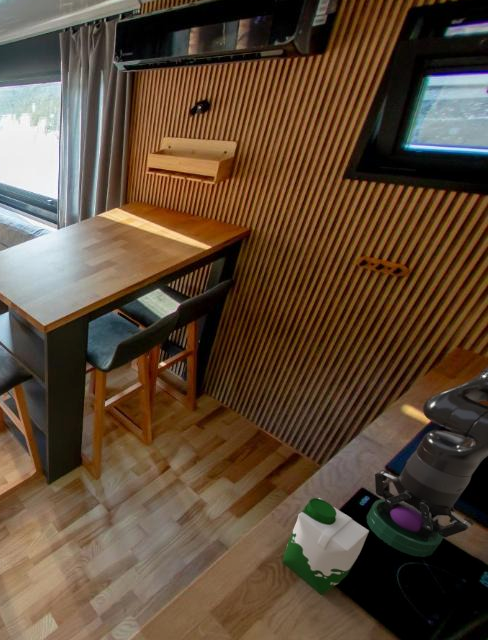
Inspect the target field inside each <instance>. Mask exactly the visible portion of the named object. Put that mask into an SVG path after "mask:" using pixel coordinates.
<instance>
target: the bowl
mask: <svg viewBox="0 0 488 640" xmlns="http://www.w3.org/2000/svg"><path fill="white" fill-rule="evenodd" d="M385 502H386V501H385V499H384V498H382V499H377V500H375V501H374V503H373V504H372V505H371V507H370V509H369V511H368V513H367V514H366V523H367V525H368V527H369V529H370V530H371V532H373V533H374V535H376V536H377V538H378V539H380V540H381V541H382V540H383V541H382V542H384V543H385V544H386V543H387V544H386V545H387V546H390V547H391V548H393V549H394V550H397V551H399V552H401V553H404V554H405V555H406V554H407V555H409V556H412V557H418V558H426V557H429V556H430V557H431V556H432V555H433V554H434V552H435V551H436V550H437V548H438V547H439V546H440V544H441V543H442V541H443V538H444V537H443V536H441V535H439V533H437V532H434V533H433V535H432V536H430V537H429V538H427V539H425V538H424V537H422V538H420V537H418V536H417V535H416V534H417V533H418V532H412V531H408V530H406V529H403V528H402V527H400V526H399V525H397V524H396V523H395V522H394V521H393V519H392V517H391V515H390V516H387V515H386V514H384V512H385V511H383V510H382V507H383V506H384V504H385ZM398 506H407V507H410V508H412V509H414V510H416V511H417V512H419V513H420V514H421V512H420V511H418V510H417V509H416V508H415V507H413V506H411V505H409V504H407V503H405V502H399V505H398Z"/></svg>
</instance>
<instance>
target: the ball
mask: <svg viewBox="0 0 488 640" xmlns="http://www.w3.org/2000/svg"><path fill="white" fill-rule="evenodd" d="M390 514H391V517H392V519H393V521H394V522H395V523H396V524H397V525H399V526H400V527H402V528H403V529H406V530H408V531H412V532H418V531H419V530H420V528H421V527H422V526H423V525H424V520H423V519H422V515H421V514H420V513H419V512H417V511H416V510H414V509H412V508H410V507H407V506H396V507H394V508H393V509H392V510H391V512H390Z"/></svg>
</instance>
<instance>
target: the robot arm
mask: <svg viewBox="0 0 488 640" xmlns="http://www.w3.org/2000/svg"><path fill="white" fill-rule="evenodd" d="M481 402H488V364H487V365H486V366H485V367H484V368H483V369H481V371H479V372H478V373H477V374H476V375H474V376H473V377H472V378H470V379H468V380H466V381H464V382H461V383H460V384H457V385H455V386H453V387H450V388H447V389H445V390H443V391H441V392H438V393H436V394H434V395H432V396H430V397H429V398H428V399H426V401H425V402H424V404H423V406H422V412H423V415H424V416H425V418H426V419H428V420H429V421H430V422H432V423H434V424H435V425H438V426H440V427H443V428H444V429H446V430H442V429H441V430H440V429H433V430H430V431H428V432H426V433H425V434H424V435H423V438H422V439H421V441H420V443H419V445H418V446H417V448H416V450H415V451H414V452H413V453H412V454H411V455H410V456H409V458H408V459H407V460H406V462H405V463H406V464H405V465H404V467H403V469H402V471H401V472H400V473H399V476H395V475H391V474H390V473H389V472H388V470H386V469H382V470H379V471H378V472H376V473H375V474H374V483H375V484H374V485H375V494H376V495H377V496H378V497H382V499H385V501H386V502H385V504H384V506H383V507H382V510H383V511H385V512H384V514H386V515H387V516H390V515H391V514H390V512H391V510H392V509H393V508H394V507H396V506H398V505H399V502H401V503H405V504H406V505H408V506H411V507H413V508H415V509H417V510H418V511H420V512H421V515H422V519H423V520H424V525H423V526H422V527H421V528H420V530H419V531H418V533H417V534H416V535H417V536H418V537H420V538H422V537H424V538H425V539H427V538H429V537H430V536H432V535H433V533H434V532H437V533H439V535H441V536H442V537H443V538H449V537H450V536H453V535H457V534H459V533H463V532H464V531H467V530H468V529H470V528H471V527H473V526H474V523H473V521H472V520H470V519H469V518H462V517H461V516H460V515H458V513H456V512H455V507H454V505H455V504H456V502H457V501H458V499H459V498H460V497H461V495H462V493H464V491H465V490H466V488H467V486H468V485H469V484H470V482H471V479H472V476H473V474H474V473H475V471H476V470H477V468H478V467H479V465H480V464H481V463H482V461H483V460H484V459H486V458H487V457H488V405H486V404H484V403H481ZM447 430H449V431H447ZM390 483H392V484H393V486H394V488H395V490H396V491H397V493H394V494H392V493H391V492H390V491H391V489H390V487H391V486H390ZM441 516H443V517H444V516H445V517H447V516H448V517H449V518H450V519H449V520H448V521H449V524H447V525H442V524H441V523H440V518H441Z"/></svg>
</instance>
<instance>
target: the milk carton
mask: <svg viewBox="0 0 488 640" xmlns="http://www.w3.org/2000/svg"><path fill="white" fill-rule="evenodd" d="M369 532H370V530H369V529H367V528H366V527H364V526H362V525H361V524H360V523H358V522H357V521H355V520H354V519H353V518H352V517H350V516H349V515H347V514H345V513H344V512H342V511H341V510H339V509H338V508H336V507H334V506H333V505H332V504H330V503H329V502H327V501H326V500H324V499H322V498H321V497H318V498H317V497H313V498H312V497H311V499H309V500H308V504H306V505H305V506H304V508H303V509H302V510H300V513H298V515H297V520H296V523H295V524H294V527H293V529H292V532H291V534H290V537H289V539H288V541H287V545H286V549H285V552H284V555H283V558H282V563H283V564H284V565H285V566H286V567H288V568H289V569H290V570H291V571H292V572H293V573H295V574H296V575H297V576H298V577H299V578H300V579H301V580H303V581H304V582H305V583H307V585H309V586H310V587H311V588H312V589H314V590H315V591H316V592H317V593H318V594H319V595H321V596H322V595H324V594H325V593H327V592H329V591H330V590H331V589H333V588H334V587H335V586H336V585H339V584H340V582H342V580H344V579H345V578H346V577H347V576H348V574H349V573H350V571H351V569H352V568H353V566H354V564H355V562H356V561H357V559H358V557H359V555H360V553H361V551H362V549H363V547H364V544H365V542H366V539H367V537H368V534H369Z"/></svg>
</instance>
